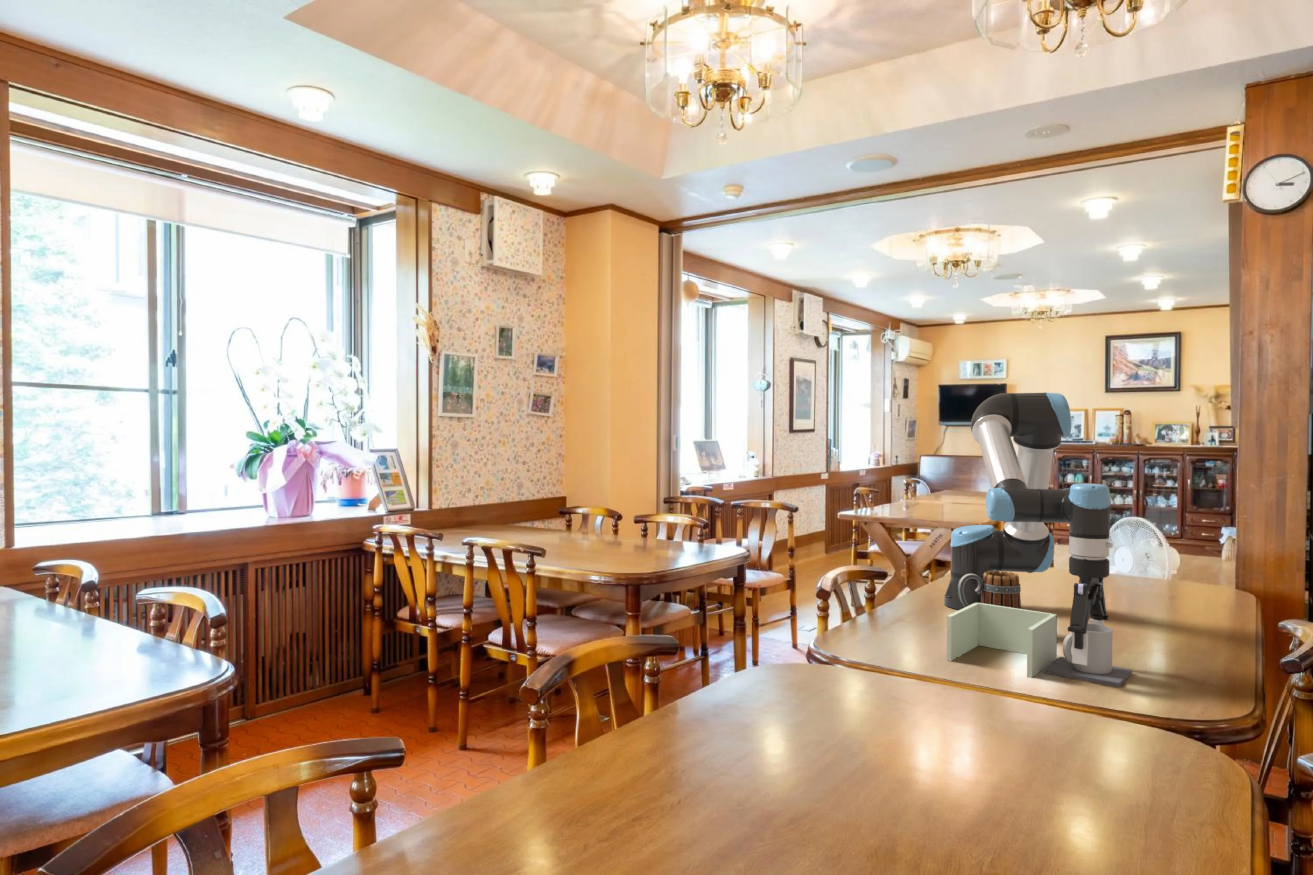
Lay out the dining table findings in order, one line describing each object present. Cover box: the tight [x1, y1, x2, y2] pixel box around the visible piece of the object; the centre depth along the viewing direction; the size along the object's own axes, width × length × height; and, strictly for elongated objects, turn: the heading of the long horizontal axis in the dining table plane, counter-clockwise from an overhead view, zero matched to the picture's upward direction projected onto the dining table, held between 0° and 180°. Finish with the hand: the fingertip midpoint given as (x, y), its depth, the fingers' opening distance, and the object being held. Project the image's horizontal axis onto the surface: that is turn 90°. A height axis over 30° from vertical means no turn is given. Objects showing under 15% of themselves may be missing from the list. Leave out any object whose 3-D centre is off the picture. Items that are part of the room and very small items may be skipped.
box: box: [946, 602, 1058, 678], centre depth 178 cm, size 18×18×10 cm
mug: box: [958, 571, 1022, 609], centre depth 201 cm, size 16×11×15 cm
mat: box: [1043, 656, 1133, 688], centre depth 168 cm, size 14×12×1 cm
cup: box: [1062, 623, 1114, 675], centre depth 168 cm, size 7×10×9 cm
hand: (1088, 656), depth 168 cm, fingers open, 13 cm apart
